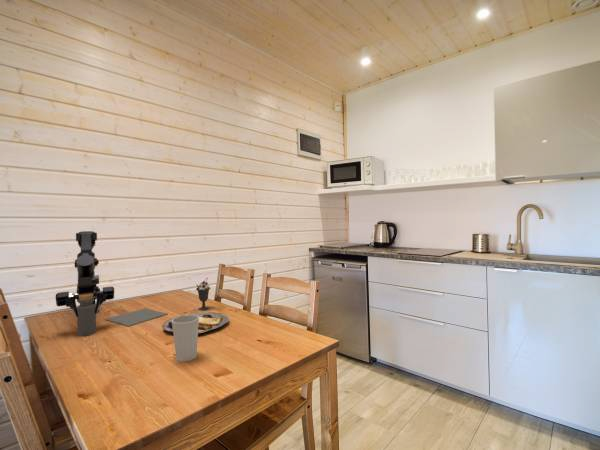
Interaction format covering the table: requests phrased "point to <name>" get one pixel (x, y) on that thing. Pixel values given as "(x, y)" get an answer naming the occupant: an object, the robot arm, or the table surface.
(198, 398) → the table surface
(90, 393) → the table surface
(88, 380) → the table surface
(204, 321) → the food plate
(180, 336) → the cup
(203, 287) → the sundae
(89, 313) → the bottle
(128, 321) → the mat
